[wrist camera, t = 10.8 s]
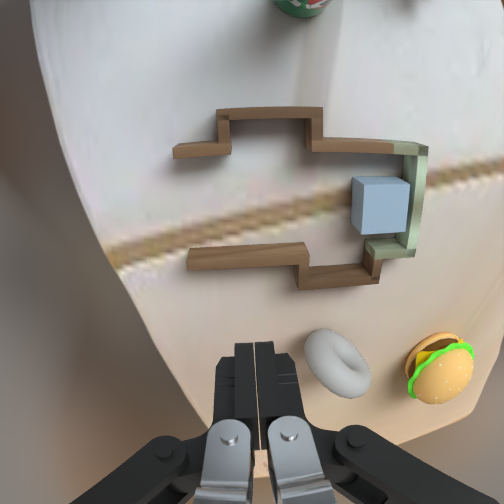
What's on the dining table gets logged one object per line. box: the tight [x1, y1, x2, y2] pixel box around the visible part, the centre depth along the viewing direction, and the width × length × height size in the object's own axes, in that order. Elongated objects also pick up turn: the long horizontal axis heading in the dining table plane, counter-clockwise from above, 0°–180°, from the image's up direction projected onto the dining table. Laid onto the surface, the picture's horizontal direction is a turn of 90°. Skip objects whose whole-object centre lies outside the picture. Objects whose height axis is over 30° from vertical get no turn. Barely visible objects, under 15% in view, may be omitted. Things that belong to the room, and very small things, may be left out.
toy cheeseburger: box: [405, 332, 474, 404], centre depth 39 cm, size 12×12×9 cm
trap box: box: [173, 107, 428, 290], centre depth 30 cm, size 18×24×3 cm
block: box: [351, 176, 410, 235], centre depth 31 cm, size 5×5×4 cm
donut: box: [304, 329, 371, 399], centre depth 35 cm, size 10×4×10 cm, turn 54°
